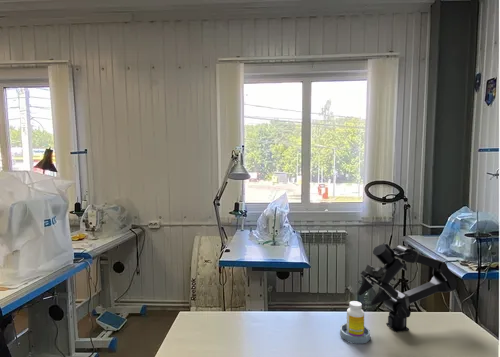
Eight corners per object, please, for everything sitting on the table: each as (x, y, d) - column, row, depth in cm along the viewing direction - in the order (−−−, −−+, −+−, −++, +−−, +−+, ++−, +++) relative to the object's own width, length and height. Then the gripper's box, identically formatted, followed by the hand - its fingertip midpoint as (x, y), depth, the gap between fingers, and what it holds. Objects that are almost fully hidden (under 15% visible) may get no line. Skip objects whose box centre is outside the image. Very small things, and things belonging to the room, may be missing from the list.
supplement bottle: (367, 338, 128) (367, 306, 127) (350, 339, 127) (351, 307, 126) (359, 329, 135) (359, 299, 134) (344, 330, 134) (344, 300, 133)
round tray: (359, 327, 138) (359, 321, 137) (375, 341, 127) (375, 335, 127) (335, 330, 135) (335, 324, 135) (349, 345, 124) (349, 339, 124)
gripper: (364, 251, 143) (341, 278, 141) (392, 265, 124) (365, 296, 123) (380, 268, 145) (357, 294, 143) (409, 284, 126) (383, 314, 125)
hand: (365, 299), depth 133 cm, fingers open, 9 cm apart
